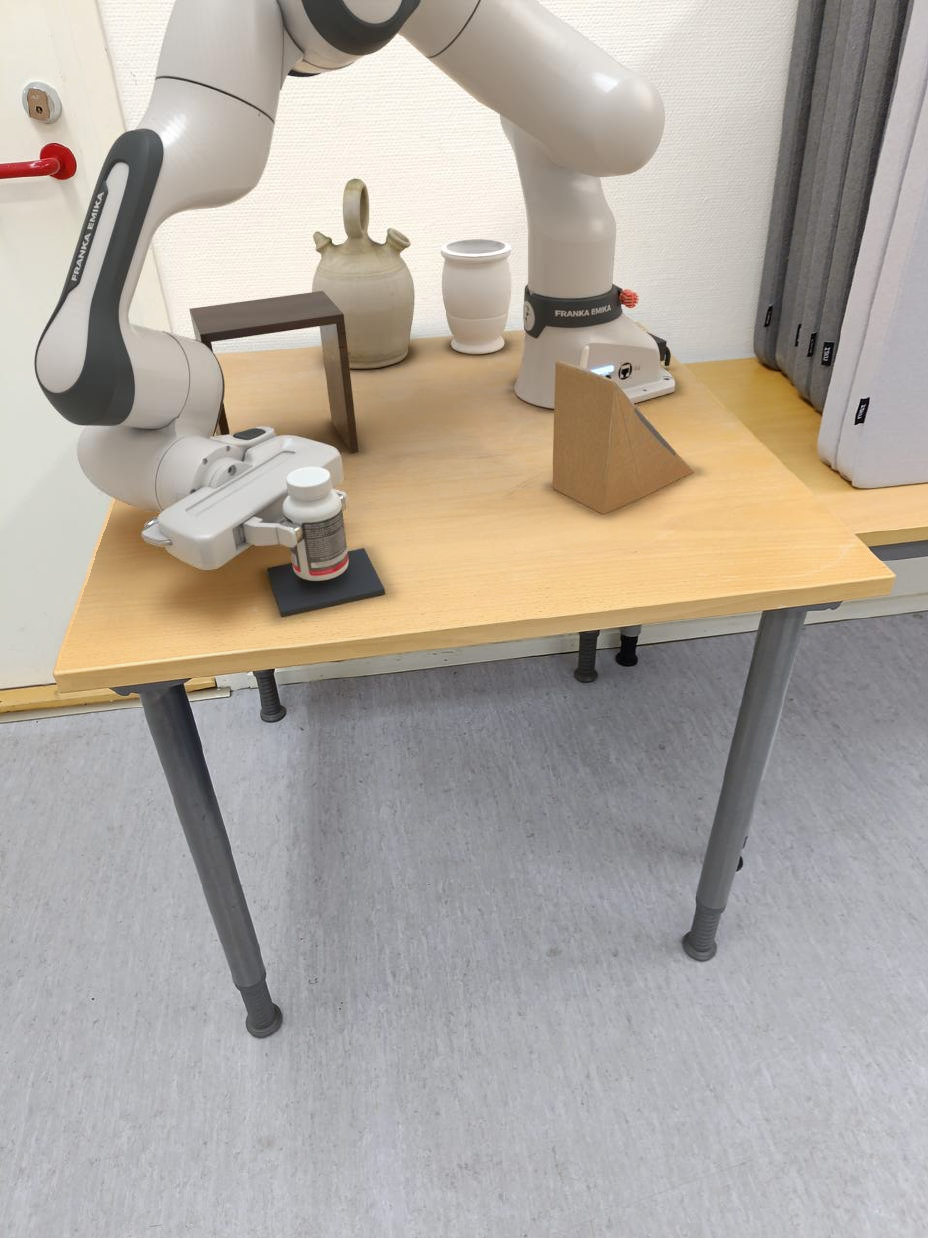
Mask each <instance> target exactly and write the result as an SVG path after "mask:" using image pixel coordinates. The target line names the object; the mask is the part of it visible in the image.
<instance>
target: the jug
mask: <svg viewBox="0 0 928 1238" xmlns="http://www.w3.org/2000/svg"><path fill="white" fill-rule="evenodd" d="M342 220H343V228H344V231H345V234H346V236H347V238H346V239H345V240H344V242H343V243H340V244H334V243H333V238H331V237H330V236H326V235H325V234H323V233H322V232H320V231H315V232H314V233H313V235H312V238H313V242H314V244H315V251H316V252H317V253H319V254H320V260H319V262H318V264H317V266H316V269H315V271H314V274H313V277H312V284H311V292H318V291H324V293H325V294H326V295H327V296H328V297H329V298H330V299H331V300H332V302H333V303H334V304H335V305H336V306H337V307H338V308H339V309H340V311H341V312H342V313H343V314H344V321H345V322H344V323H345V330H346V339H347V348H348V357H349V367H350V369H352V370H354V369H355V370H367V369H369V370H371V369H380V368H384V367H389V366H393V365H395V364H398V363H400V362H401V361H403V360H404V359H405V358H406V357H407V356H408V353H409V346H410V341H411V332H412V326H413V320H414V312H415V285H414V279H413V276H412V273H411V271H410V269H409V267H408V265H407V263H406V262H405V260H404V259H403V257H402V256H401V253H402V252H403V251H405V250H406V249H407V248H409V247H411V245H412V243H411V241H410V239H409V238H408V237H407V236H406V235H405V234H403V233H402V232H401V231H399V230H397V229H396V228H392V227H390V228H388V229H387V230H386V237H385V242H383V243H381V242H377V241H375V240H373V239H372V238H371V237H370V235H369V231H368V230H369V226H370V225H369V224H370V197H369V191H368V186H367V184H366V182H364V181H363V180H362V179H360V178H355V177H354V178H352V179H349V180H348V181H347V182H346V183H345V186H344V190H343V194H342ZM318 327H319V328H320V326H318Z"/></svg>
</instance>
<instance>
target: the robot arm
mask: <svg viewBox="0 0 928 1238" xmlns="http://www.w3.org/2000/svg"><path fill="white" fill-rule="evenodd" d="M397 35H398V36H401V37H403V38H404V39H405V40H406V41H407V42H408V43H409V44H410V45H411V46H412V47H413V48H414V49H415V50H416V51H418V52H419V53H420V54H421V55H422V56H424V57H425V58H426V59H427V60H428V61H430V63H432V64H433V65H434V66H435V67H437V68H438V69H439V70H440V71H441V72H442V73H443V74H445V75H446V76H447V77H448V78H450V80H451V81H453V82H454V83H456V85H458V86H459V87H460V88H461V89H463V91H465V92H466V93H467V94H468V95H470V96H471V97H472V98H474V99H475V100H476V101H477V102H478V103H479V104H481V105H483V106H485V107H486V108H488V109H490V110H492V111H493V112H495V113H497V114H498V115H499V121H500V126H501V129H502V131H503V134H504V136H505V137H506V139H507V141H508V143H509V145H510V146H511V150H512V151H513V155H514V159H515V163H516V167H517V171H518V176H519V181H520V186H521V191H522V196H523V201H524V207H525V213H526V222H527V224H526V225H527V283H526V285H525V286H524V290H523V291H524V293H523V305H522V306H523V308H522V320H523V321H522V322H523V329H524V340H523V341H524V342H523V348H522V355H521V359H520V365H519V370H518V375H517V377H516V381H515V384H514V387H513V391H514V393H515V395H516V396H517V397H518V398H520V399H521V400H523V401H524V402H527V403H529V404H531V405H534V406H538V407H542V408H546V409H553V410H554V400H555V364H556V362H557V361H558V360H559V361H563V362H566V363H569V364H572V365H575V366H579V367H582V368H585V369H588V370H590V371H593V372H595V373H597V374H600V375H602V376H604V377H607V378H609V379H612V380H613V381H615V382H616V383H617V384H618V386H619V387H620V388H621V389H622V390H623V392H624V393H625V394H626V395H627V396H628V398H629V399H630V400H631V401H632V402H633V404H634V405H635V404H637V403H640V402H644V401H648V400H652V399H654V398H658V397H661V396H664V395H669V394H672V393H674V392H675V391H676V381H675V378H674V377H673V375H672V374H671V373H670V372H669V371H667V370H666V368H664V367H669V366H670V365H671V357H672V353H671V350H670V348H669V347H668V346H667V344H668V343H667V342H668V341H667V340H665V339H663V338H661V337H659V336H657V335H655V334H652V333H650V332H648V331H647V330H645V329H644V328H642V327H641V326H640V325H639V324H637V323H636V322H635V321H634V320H633V319H632V318H630V317H629V316H628V315H627V314H625V313H624V312H623V307H622V305H623V306H625V307H626V308H628V309H633V308H635V307H636V306H637V304H638V303H639V295H638V293H637V292H635V291H632V290H631V289H627V288H626V289H623V288H621V287H619V285H616V284H614V283H613V281H614V266H615V253H616V239H617V223H616V218H615V216H614V213H613V211H612V210H611V208H610V207H609V204H608V203H607V200H606V197H605V193H604V190H603V185H602V182H601V181H602V180H601V178H612V177H613V178H615V177H620V176H627V175H631V174H634V173H636V172H637V171H639V170H641V169H643V168H644V167H645V166H646V165H647V164H648V163H649V162H650V160H651V159H652V158H653V156H654V155H655V154H656V152H657V150H658V148H659V146H660V144H661V141H662V139H663V134H664V129H665V123H666V122H665V121H666V113H665V106H664V102H663V98H662V95H661V93H660V91H659V90H658V89H657V87H656V86H655V85H654V84H653V83H652V82H651V81H649V80H648V79H647V78H645V77H643V76H642V75H640V74H638V73H637V72H635V71H634V70H632V69H630V68H628V67H627V66H626V65H623V64H622V63H621V62H619V61H618V60H617V59H616V58H614V57H613V56H612V55H610V54H609V53H608V52H606V51H605V50H604V49H603V48H602V47H601V46H599V45H598V44H596V43H595V42H594V41H593V40H591V39H590V38H589V37H587V36H586V35H584V34H583V33H581V32H580V31H579V30H577V29H576V28H574V27H573V26H572V25H570V24H568V23H567V22H566V21H564V20H563V19H561V18H559V16H557V15H556V14H554V13H553V12H551V11H550V10H549V9H548V8H546V7H545V6H544V5H543V4H541V3H540V2H539V1H538V0H174V3H173V6H172V10H171V13H170V16H169V18H168V22H167V25H166V28H165V32H164V36H163V39H162V43H161V48H160V51H159V56H158V61H157V66H156V71H155V76H154V82H153V87H152V92H151V96H150V99H149V102H148V105H147V107H146V110H145V112H144V114H143V116H142V118H141V120H140V121H139V122H138V124H137V126H136V127H135V128H134V129H131V130H128V131H125V132H123V133H121V135H119V137H117V138H116V140H115V141H114V143H113V144H112V145H111V147H110V149H109V150H108V152H107V155H106V157H105V159H104V162H103V164H102V167H101V169H100V172H99V174H98V177H97V180H96V183H95V186H94V189H93V192H92V195H91V197H90V201H89V204H88V207H87V210H86V213H85V218H84V220H83V224H82V227H81V230H80V233H79V236H78V239H77V243H76V246H75V249H74V252H73V255H72V259H71V262H70V265H69V268H68V272H67V275H66V278H65V281H64V284H63V287H62V291H61V293H60V295H59V296H60V297H59V299H58V301H57V303H56V306H55V308H54V310H53V312H52V314H51V315H50V318H49V319H48V321H47V323H46V325H45V327H44V328H43V330H42V333H41V334H40V337H39V340H38V343H37V345H36V349H35V352H34V360H33V361H34V364H33V365H34V373H35V377H36V380H37V383H38V385H39V387H40V389H41V391H42V393H43V395H44V397H46V399H47V401H48V402H49V403H50V404H51V406H52V407H53V408H54V409H55V410H56V412H57V413H58V414H59V415H61V416H62V418H63V419H65V420H66V421H68V422H69V423H71V424H74V425H77V426H85V427H84V428H83V430H82V431H81V433H80V435H79V437H78V441H77V446H76V455H77V461H78V464H79V467H80V469H81V471H82V472H83V474H84V476H85V477H86V478H87V479H88V480H89V482H90V483H91V484H92V485H93V486H94V487H95V488H96V489H98V490H99V491H100V492H102V493H104V494H105V495H108V496H109V497H110V498H113V499H115V500H117V501H119V502H121V503H123V504H126V505H129V506H132V507H134V508H137V509H139V510H143V511H145V512H148V513H159V514H158V515H157V516H154V517H151V518H149V519H148V520H147V521H146V522H145V523H144V525H143V526H144V527H143V529H142V530H141V533H140V534H141V538H142V539H143V541H144V542H146V543H148V544H151V545H154V546H156V547H159V548H160V547H161V548H164V549H165V550H166V552H168V553H169V554H170V555H171V556H173V557H175V558H176V559H178V560H179V561H182V562H183V563H185V564H187V565H188V566H191V567H194V568H196V569H198V570H200V571H211V570H218V569H219V568H222V566H224V565H225V564H227V563H228V562H230V561H231V560H233V559H235V558H236V557H237V556H238V555H240V554H241V553H243V552H245V551H246V550H247V549H249V548H250V547H251V546H254V547H255V546H256V547H265V546H277V545H281V546H285V547H288V548H289V547H291V548H293V547H294V546H296V545H297V544H298V543H300V542H301V541H302V540H303V539H304V535H303V534H302V533H303V528H302V526H301V525H300V524H298V523H293V522H291V521H289V520H286V521H285V520H284V514H283V503H284V500H285V499H286V498H287V496H288V495H289V494H288V490H287V483H286V478H287V476H288V474H289V473H291V472H292V471H294V470H297V469H299V468H304V467H321V468H324V469H326V470H328V471H329V473H330V476H331V482H332V490H333V491H334V492H336V493H337V494H338V496H339V497H340V499H341V503H342V512H344V511H345V510H347V509H348V508H349V506H350V505H349V496H348V494H347V493H346V492H345V491H343V490H339V489H336V488H338V487H339V486H341V485H342V484H343V482H344V480H345V475H344V464H343V458H342V454H341V453H340V451H339V450H338V448H336V447H334V446H333V445H330V444H329V443H328V444H327V443H324V442H320V441H317V440H313V439H310V438H306V437H302V436H297V435H291V434H282V435H277V434H276V430H275V429H274V428H273V427H270V426H267V425H259V426H255V427H252V428H249V429H245V430H242V431H238V432H234V433H230V434H229V435H221V436H216V429H217V425H218V422H219V418H220V415H221V411H222V406H223V403H224V401H225V390H226V385H225V377H224V373H223V370H222V366H221V363H220V361H219V359H218V358H217V356H216V355H215V353H214V351H213V352H212V350H211V349H210V348H209V347H208V346H207V345H205V344H204V343H202V342H201V341H198V340H196V338H190V337H187V336H183V335H179V334H176V333H172V332H169V331H168V332H167V331H166V330H158V329H153V328H150V327H145V326H142V325H138V324H134V323H132V322H131V323H130V319H129V318H130V317H129V313H130V309H131V306H132V302H133V298H134V296H135V293H136V290H137V287H138V283H139V280H140V277H141V274H142V271H143V268H144V264H145V261H146V258H147V255H148V252H149V249H150V245H151V243H152V240H153V237H154V235H155V234H156V232H157V230H158V229H159V227H160V226H161V225H162V224H163V223H164V222H165V221H166V220H168V219H169V218H171V217H173V216H175V215H177V214H180V213H183V212H187V211H196V210H207V209H208V210H209V209H217V208H222V207H226V206H228V205H229V206H230V205H231V204H233V203H236V202H238V201H239V200H242V199H243V198H245V197H246V196H247V195H248V194H250V193H251V192H252V191H253V190H255V188H256V187H257V186H258V185H259V182H260V181H261V179H262V177H263V174H264V172H265V169H266V167H267V164H268V160H269V156H270V152H271V146H272V142H273V137H274V132H275V125H276V121H277V120H276V119H277V115H278V114H277V113H278V109H279V101H280V95H281V91H282V89H283V87H284V83H285V81H286V78H287V76H289V77H293V78H310V77H315V76H318V75H320V74H324V73H330V72H335V71H338V70H342V69H345V68H347V67H350V66H352V65H353V64H355V62H357V61H359V60H360V59H362V58H364V57H365V56H368V55H372V54H375V53H376V52H379V51H380V50H382V49H384V47H386V46H387V45H388V44H389V43H390V42H391V41H392V40H393V39H394V38H395V37H396V36H397ZM661 362H664V367H663V366H661Z"/></svg>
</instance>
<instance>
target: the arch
mask: <svg viewBox="0 0 928 1238" xmlns="http://www.w3.org/2000/svg"><path fill="white" fill-rule="evenodd" d="M188 310H189V314H190V319H191V324H192V328H193V333H194V334H193V335H194V339H195V340H198V341H201V342H202V343H204V344H205V345H207V346H208V347H209V348H210V349H211V350H212V352H213V353H214V350H213V344H212V343H214V342H221V341H227V340H228V341H229V340H235V339H242V338H248V337H256V336H262V335H270V334H275V333H276V334H277V333H283V332H289V331H296V330H297V331H298V330H304V329H311V328H318V327H319V326H320V327H319V334H320V343H321V348H322V356H323V364H324V365H323V366H324V372H325V380H326V388H327V397H328V403H329V412H330V420H331V424H332V425H333V427H334V429H335V430H336V432H337V433H338V435H339V436H340V438H341V440H342V441H343V443H344V444H345V446H346V447H347V449H348V451H349V452H350V454H353V453H359V450H360V449H359V442H358V431H357V423H356V412H355V404H354V396H353V394H354V393H353V387H352V386H353V385H352V378H351V377H352V376H351V368H350V367H349V357H348V348H347V339H346V330H345V323H344V322H345V321H344V314H343V313H342V312H341V311H340V309H339V308H338V307H337V306H336V305H335V304H334V303H333V302H332V300H331V299H330V298H329V297H328V296H327V295H326V294H325V293H324V291H318V292H312V291H311V292H303V293H297V294H290V295H289V294H288V295H281V296H273V297H267V298H257V299H252V300H244V301H243V300H242V301H236V302H228V303H222V304H215V305H207V306H198V307H192V308H189V309H188ZM229 434H231V432H230V428H229V423H228V418H227V413H226V408H225V403H224V402H223V406H222V411H221V415H220V418H219V422H218V425H217V429H216V432H215V436H221V435H229Z"/></svg>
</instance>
